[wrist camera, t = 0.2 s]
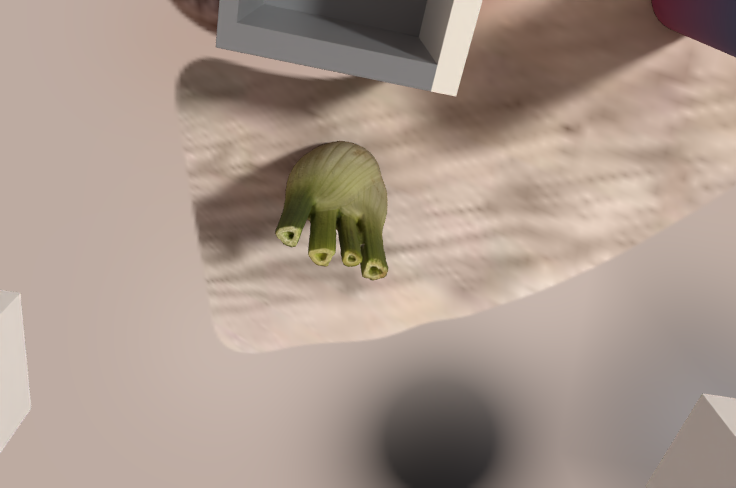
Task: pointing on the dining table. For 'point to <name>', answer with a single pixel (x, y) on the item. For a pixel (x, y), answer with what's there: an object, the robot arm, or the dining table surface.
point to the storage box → (358, 37)
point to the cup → (701, 21)
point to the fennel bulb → (338, 207)
